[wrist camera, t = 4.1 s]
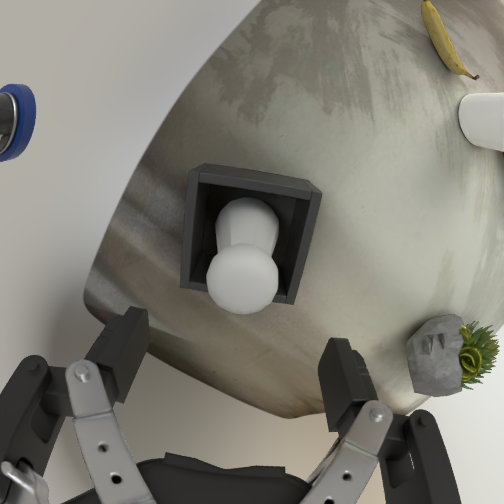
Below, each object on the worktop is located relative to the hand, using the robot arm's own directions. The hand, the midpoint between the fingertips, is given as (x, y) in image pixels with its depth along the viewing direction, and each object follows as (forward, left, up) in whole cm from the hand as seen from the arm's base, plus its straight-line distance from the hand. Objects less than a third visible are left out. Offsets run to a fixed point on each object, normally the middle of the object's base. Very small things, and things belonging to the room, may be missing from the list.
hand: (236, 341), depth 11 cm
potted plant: (+30, -11, -18) cm, 36 cm away
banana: (+17, +25, -18) cm, 35 cm away
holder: (0, 0, -17) cm, 17 cm away
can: (+24, +18, -18) cm, 35 cm away
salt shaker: (0, 0, -18) cm, 18 cm away
